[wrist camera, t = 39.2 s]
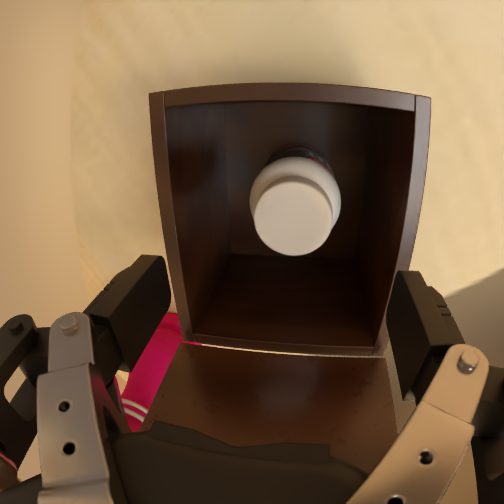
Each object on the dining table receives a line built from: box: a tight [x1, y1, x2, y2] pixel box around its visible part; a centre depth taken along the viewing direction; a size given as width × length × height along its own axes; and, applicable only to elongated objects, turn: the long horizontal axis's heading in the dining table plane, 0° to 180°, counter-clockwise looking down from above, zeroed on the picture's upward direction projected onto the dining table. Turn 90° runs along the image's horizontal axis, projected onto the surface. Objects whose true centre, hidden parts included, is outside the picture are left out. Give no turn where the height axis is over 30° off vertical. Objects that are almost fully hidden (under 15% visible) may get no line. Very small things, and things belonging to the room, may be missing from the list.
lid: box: [139, 342, 398, 474], centre depth 12 cm, size 15×13×5 cm
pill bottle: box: [250, 144, 341, 256], centre depth 19 cm, size 5×5×10 cm
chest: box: [149, 83, 431, 356], centre depth 20 cm, size 15×13×12 cm
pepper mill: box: [121, 313, 201, 432], centre depth 26 cm, size 7×7×20 cm
